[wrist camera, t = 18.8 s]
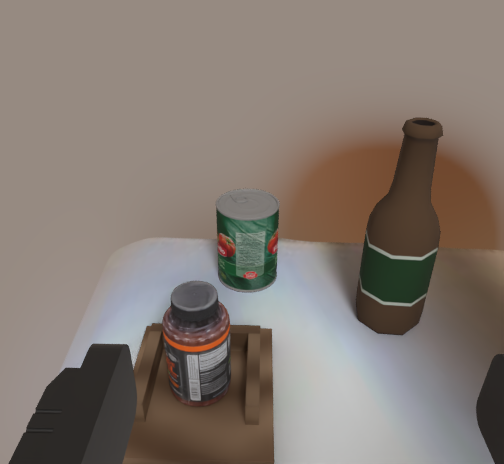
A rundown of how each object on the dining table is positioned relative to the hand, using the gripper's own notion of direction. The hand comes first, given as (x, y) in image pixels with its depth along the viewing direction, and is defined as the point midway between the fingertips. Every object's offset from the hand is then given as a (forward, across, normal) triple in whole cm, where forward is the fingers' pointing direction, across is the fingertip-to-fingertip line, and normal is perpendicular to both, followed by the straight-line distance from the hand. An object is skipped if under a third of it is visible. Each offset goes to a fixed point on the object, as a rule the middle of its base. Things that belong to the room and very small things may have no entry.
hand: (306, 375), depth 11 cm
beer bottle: (+37, -14, +30) cm, 50 cm away
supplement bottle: (+24, +7, +29) cm, 38 cm away
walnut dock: (+24, +7, +30) cm, 39 cm away
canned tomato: (+45, +3, +30) cm, 54 cm away
